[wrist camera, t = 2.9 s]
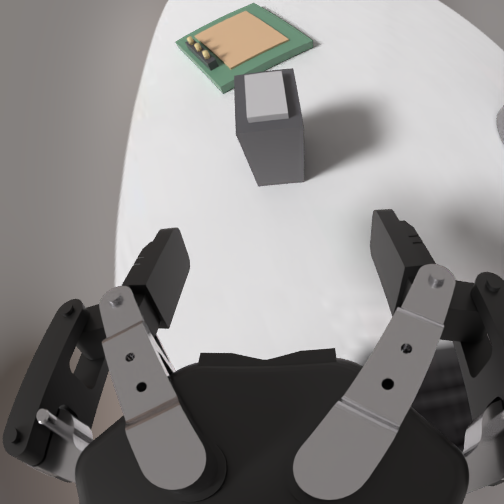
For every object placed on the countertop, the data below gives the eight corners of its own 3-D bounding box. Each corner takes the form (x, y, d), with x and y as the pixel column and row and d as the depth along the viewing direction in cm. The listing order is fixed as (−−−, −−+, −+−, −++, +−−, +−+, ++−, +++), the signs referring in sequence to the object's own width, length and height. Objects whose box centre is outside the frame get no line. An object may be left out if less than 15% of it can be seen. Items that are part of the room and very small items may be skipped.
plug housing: (297, 133, 25) (292, 62, 16) (304, 182, 24) (303, 121, 15) (255, 137, 26) (232, 70, 16) (258, 186, 25) (233, 129, 16)
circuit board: (255, 9, 29) (251, -9, 26) (312, 47, 26) (312, 26, 23) (178, 47, 30) (169, 30, 26) (223, 93, 27) (214, 74, 24)
